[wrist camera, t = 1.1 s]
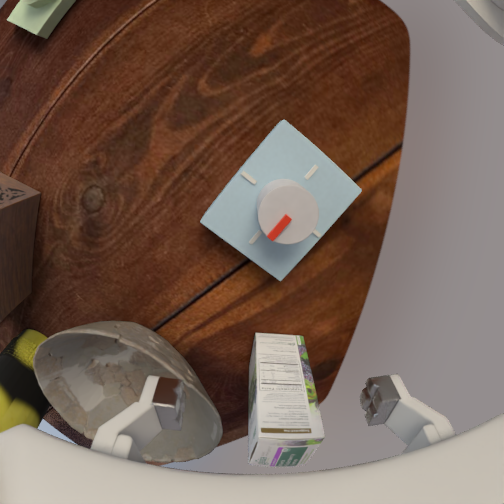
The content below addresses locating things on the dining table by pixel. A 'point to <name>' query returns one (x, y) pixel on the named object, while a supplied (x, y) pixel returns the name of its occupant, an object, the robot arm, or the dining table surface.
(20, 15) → the button block
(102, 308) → the dining table surface
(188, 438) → the ceramic bowl
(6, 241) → the tissue box cover
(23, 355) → the container
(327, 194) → the panel
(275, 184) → the dial
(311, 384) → the syrup box
